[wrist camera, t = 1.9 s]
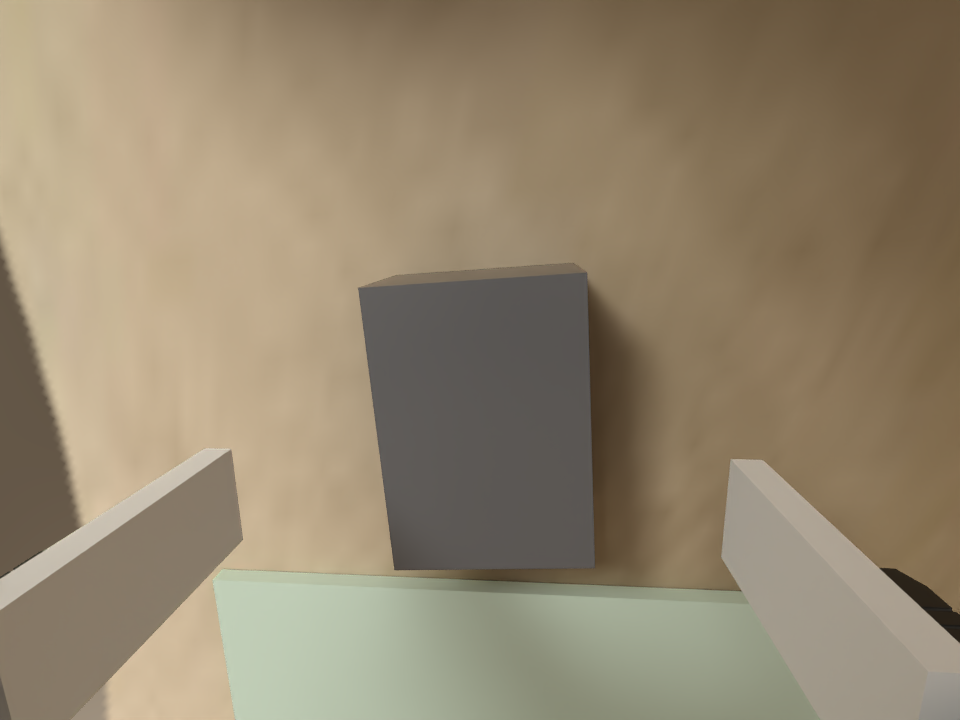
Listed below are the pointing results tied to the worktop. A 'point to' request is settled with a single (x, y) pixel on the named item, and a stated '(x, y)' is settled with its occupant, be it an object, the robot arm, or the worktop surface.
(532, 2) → the worktop surface
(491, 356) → the dark gray card box
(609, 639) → the rubber mat
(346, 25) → the worktop surface
